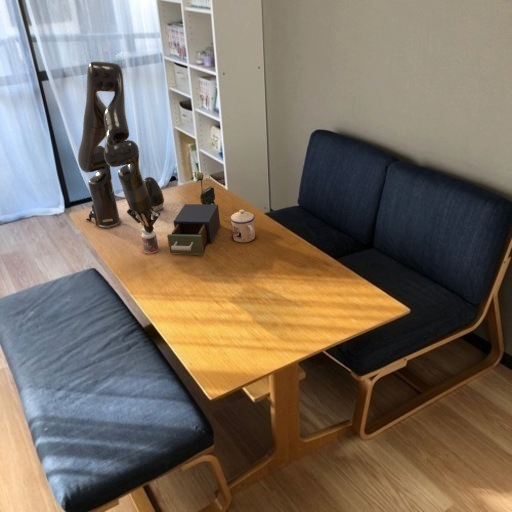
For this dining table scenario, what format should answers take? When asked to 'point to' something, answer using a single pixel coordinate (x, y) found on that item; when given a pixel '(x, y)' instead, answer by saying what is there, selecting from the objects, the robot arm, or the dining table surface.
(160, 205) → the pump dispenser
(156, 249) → the pill bottle
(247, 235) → the teacup with lid
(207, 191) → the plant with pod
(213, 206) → the cabinet
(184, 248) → the drawer
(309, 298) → the dining table surface
